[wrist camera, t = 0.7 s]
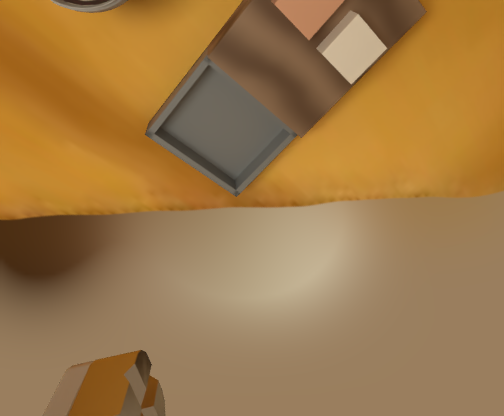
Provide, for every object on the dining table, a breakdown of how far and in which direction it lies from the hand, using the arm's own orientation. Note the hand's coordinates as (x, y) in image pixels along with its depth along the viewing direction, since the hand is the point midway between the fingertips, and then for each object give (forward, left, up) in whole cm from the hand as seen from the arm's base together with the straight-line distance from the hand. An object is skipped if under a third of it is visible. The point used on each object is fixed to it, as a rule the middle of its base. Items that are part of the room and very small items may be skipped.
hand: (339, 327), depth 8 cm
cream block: (-7, +11, -39) cm, 41 cm away
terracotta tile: (-7, +4, -39) cm, 39 cm away
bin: (+11, +8, -44) cm, 45 cm away
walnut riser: (-5, +8, -44) cm, 45 cm away
